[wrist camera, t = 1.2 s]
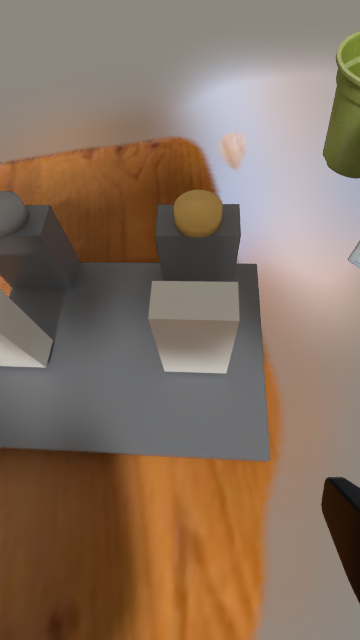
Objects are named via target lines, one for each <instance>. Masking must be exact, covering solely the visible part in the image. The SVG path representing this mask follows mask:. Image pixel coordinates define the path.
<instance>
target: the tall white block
mask: <svg viewBox="0 0 360 640" xmlns="http://www.w3.org/2000/svg"><path fill="white" fill-rule="evenodd" d="M148 320H149V323H150V327H151V330H152V333H153V336H154V339H155V343H156V346H157V349H158V352H159V355H160V358H161V362H162V365H163V368H164V371H165V372H195V373H227V369H228V365H229V361H230V357H231V353H232V349H233V345H234V341H235V337H236V333H237V329H238V325H239V321H240V320H239V292H238V282H202V281H152V286H151V296H150V305H149V315H148Z"/></svg>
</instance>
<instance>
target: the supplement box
mask: <svg viewBox="0 0 360 640" xmlns="http://www.w3.org/2000/svg"><path fill="white" fill-rule="evenodd" d="M348 261H350V262H351V263H352V264H354V265H356V266H358V267H359V268H360V241H359V243H358V244H357V246H356V247H355V249H354V250H353V252H352V253H351V255H350V256H349V258H348Z"/></svg>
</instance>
